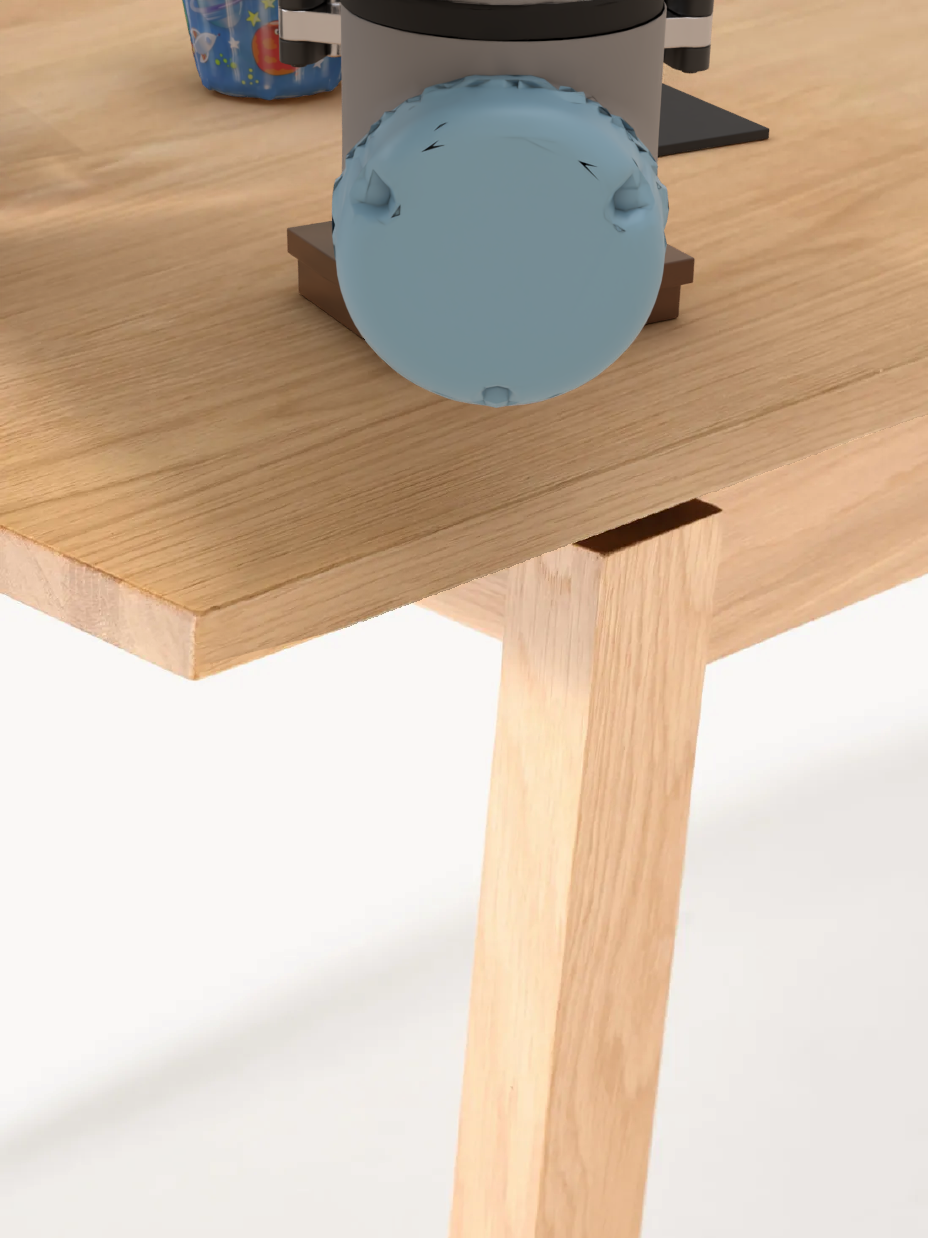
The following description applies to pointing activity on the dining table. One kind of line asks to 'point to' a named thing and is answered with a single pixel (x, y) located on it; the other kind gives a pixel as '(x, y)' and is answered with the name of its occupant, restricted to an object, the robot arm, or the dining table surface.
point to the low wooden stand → (325, 292)
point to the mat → (700, 124)
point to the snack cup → (250, 52)
